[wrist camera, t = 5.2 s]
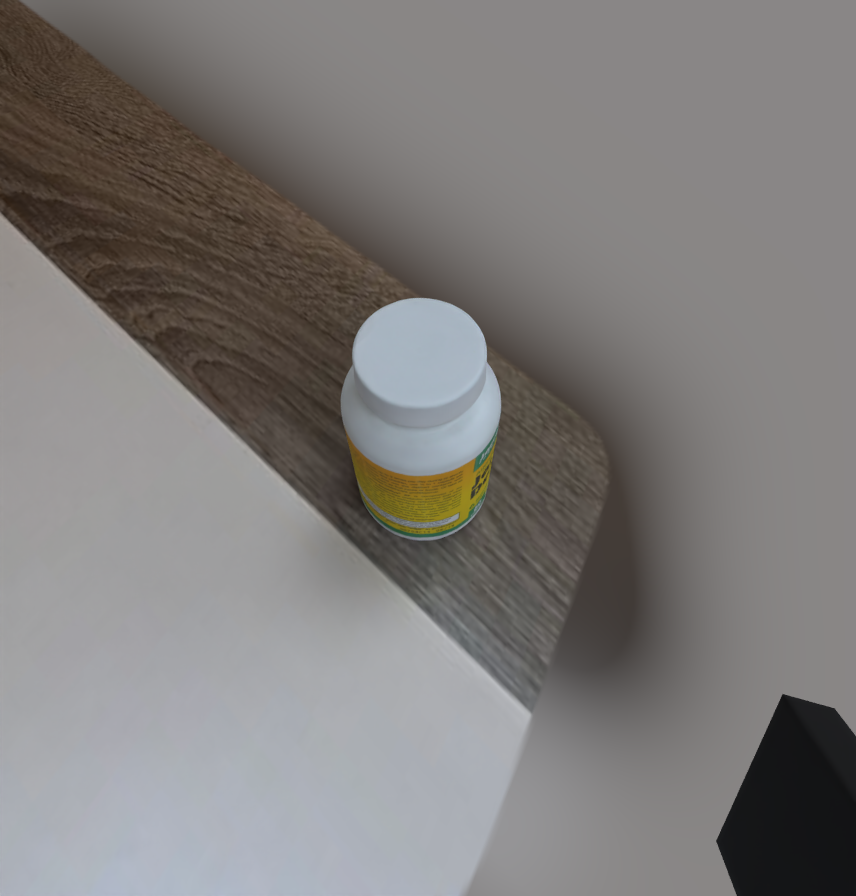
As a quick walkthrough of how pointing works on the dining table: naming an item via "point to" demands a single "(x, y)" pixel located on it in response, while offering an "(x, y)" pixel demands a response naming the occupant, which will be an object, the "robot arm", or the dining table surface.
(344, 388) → the supplement bottle
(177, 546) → the dining table surface
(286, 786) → the dining table surface
